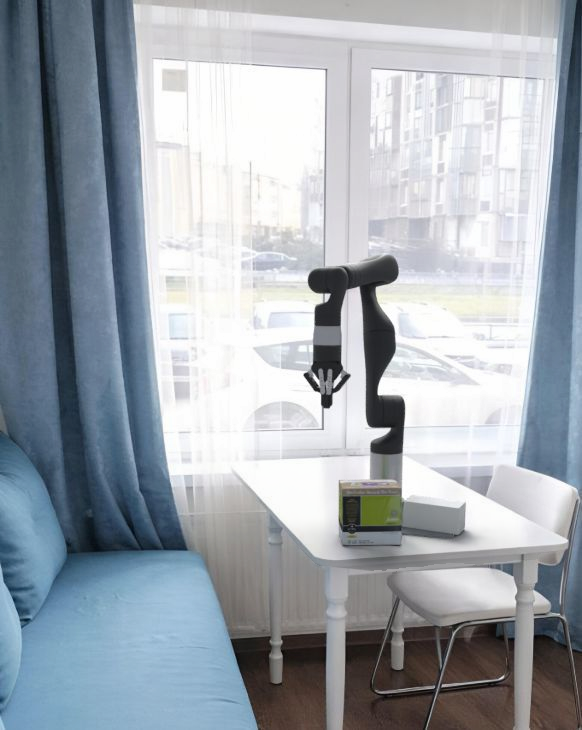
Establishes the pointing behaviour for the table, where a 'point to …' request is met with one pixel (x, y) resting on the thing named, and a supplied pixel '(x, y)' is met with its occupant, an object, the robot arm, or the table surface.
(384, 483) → the tea box
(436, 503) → the milk carton
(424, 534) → the mat
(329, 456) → the table surface
